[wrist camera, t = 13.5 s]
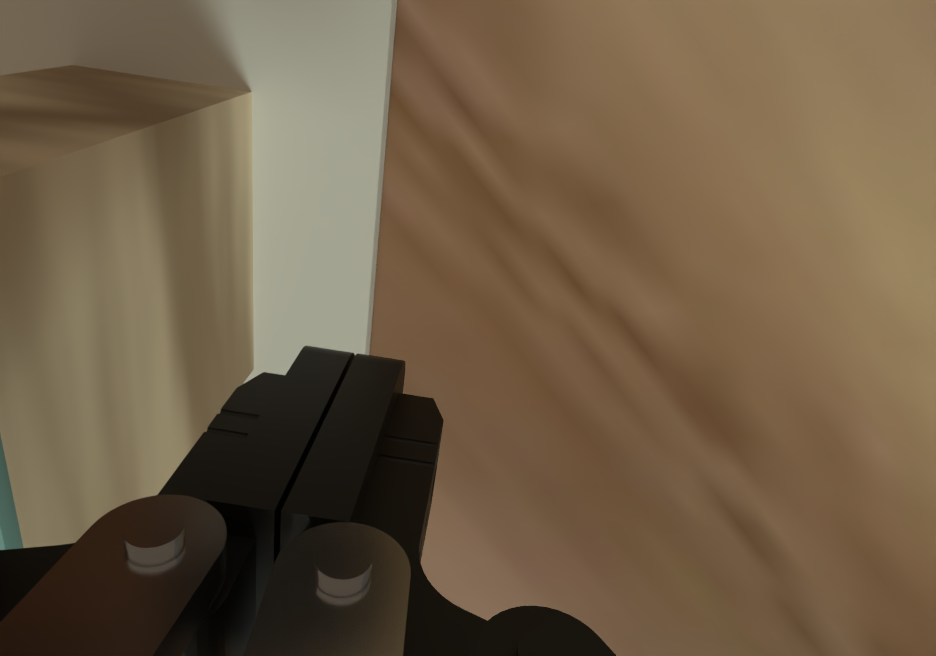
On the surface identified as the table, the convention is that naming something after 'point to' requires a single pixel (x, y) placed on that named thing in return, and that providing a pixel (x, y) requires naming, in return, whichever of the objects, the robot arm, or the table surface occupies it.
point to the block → (116, 287)
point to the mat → (263, 133)
